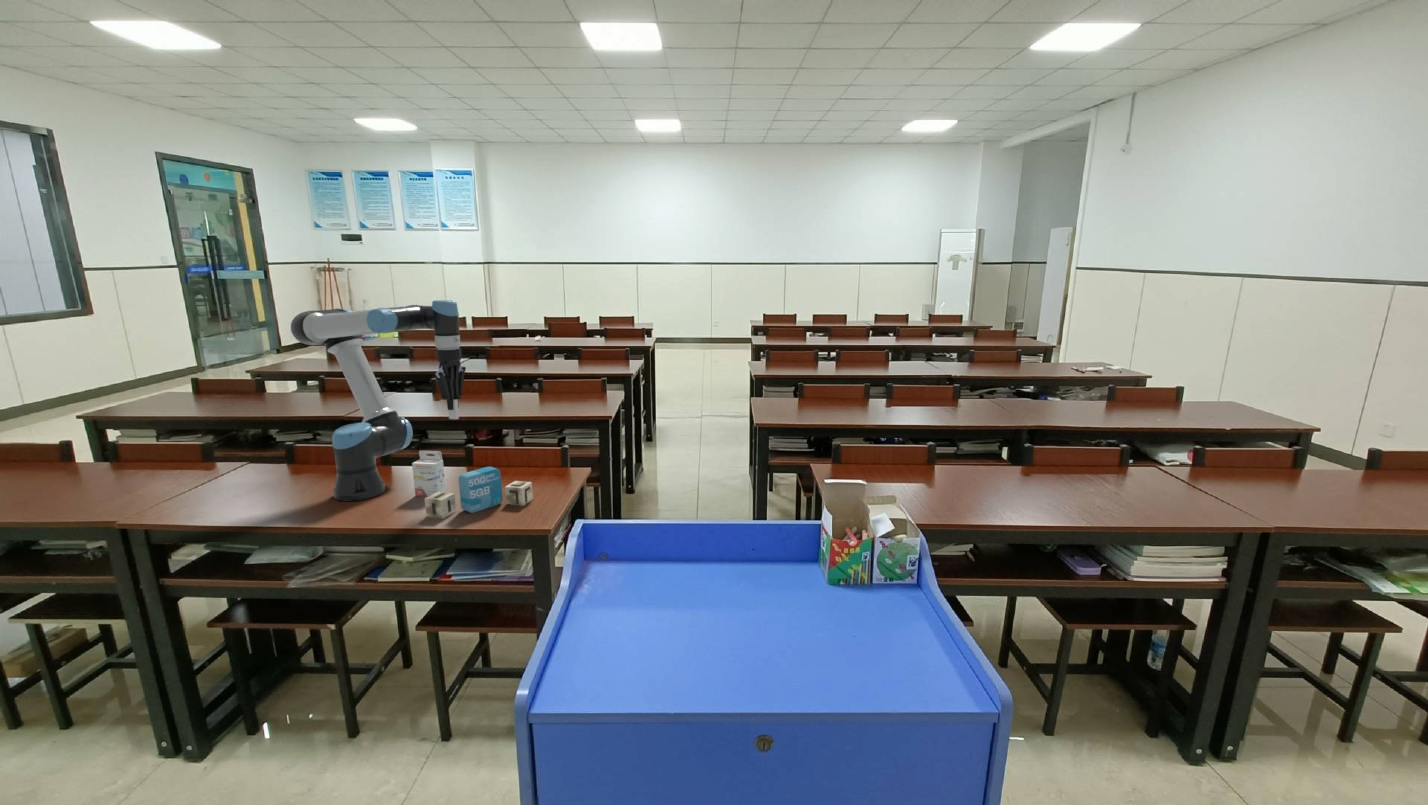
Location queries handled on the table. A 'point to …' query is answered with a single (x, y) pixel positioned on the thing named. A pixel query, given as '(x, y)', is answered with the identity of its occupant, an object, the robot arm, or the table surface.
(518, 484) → the maple block seven
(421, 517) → the table surface
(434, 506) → the maple block one
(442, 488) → the ink cartridge box
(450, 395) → the robot arm
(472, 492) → the data package
